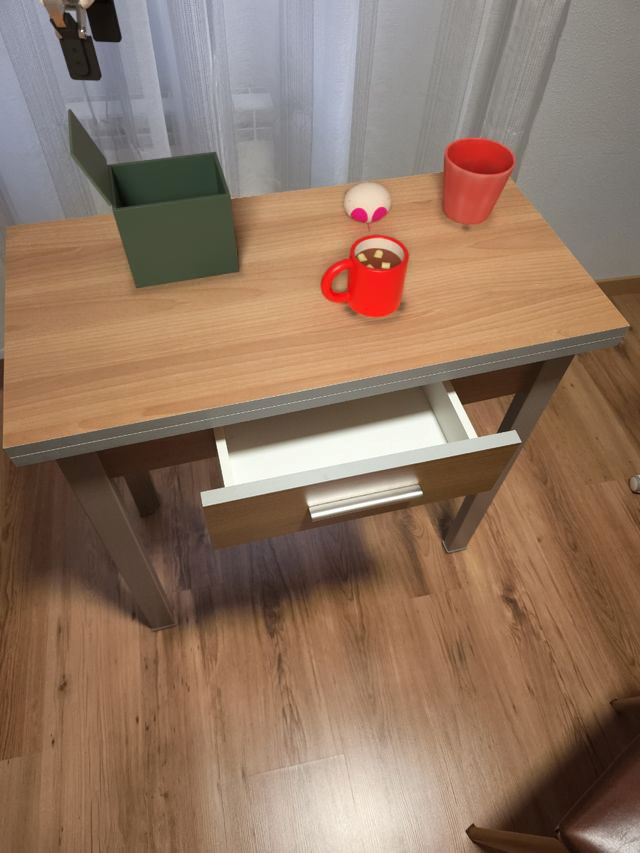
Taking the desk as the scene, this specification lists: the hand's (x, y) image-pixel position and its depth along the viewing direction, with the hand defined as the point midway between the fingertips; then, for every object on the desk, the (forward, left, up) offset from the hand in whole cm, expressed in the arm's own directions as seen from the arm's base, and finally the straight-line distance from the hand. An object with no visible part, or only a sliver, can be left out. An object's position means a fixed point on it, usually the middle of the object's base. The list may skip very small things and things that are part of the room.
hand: (98, 59), depth 63 cm
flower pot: (+52, +1, -28) cm, 59 cm away
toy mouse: (+35, +2, -28) cm, 44 cm away
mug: (+28, -16, -28) cm, 42 cm away
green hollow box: (+5, 0, -27) cm, 28 cm away
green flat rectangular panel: (-4, 0, -11) cm, 11 cm away
